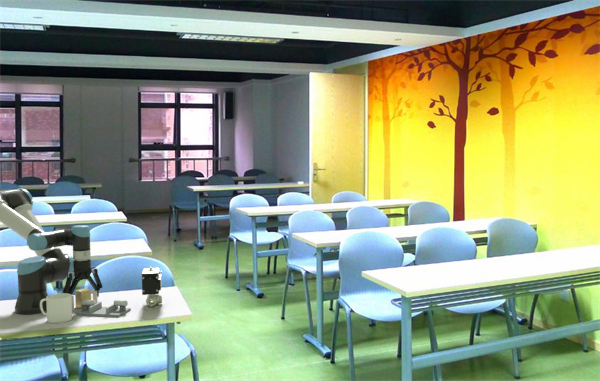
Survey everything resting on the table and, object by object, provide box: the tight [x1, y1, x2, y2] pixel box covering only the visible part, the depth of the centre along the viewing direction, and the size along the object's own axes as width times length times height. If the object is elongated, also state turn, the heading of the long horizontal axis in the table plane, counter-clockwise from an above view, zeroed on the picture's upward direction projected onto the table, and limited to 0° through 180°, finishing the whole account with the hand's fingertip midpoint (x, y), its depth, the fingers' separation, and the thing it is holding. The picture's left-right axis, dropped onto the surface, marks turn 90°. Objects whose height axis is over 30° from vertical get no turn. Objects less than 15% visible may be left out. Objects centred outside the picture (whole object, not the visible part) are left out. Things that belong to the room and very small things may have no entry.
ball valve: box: [141, 266, 163, 307], centre depth 273 cm, size 18×8×18 cm, turn 11°
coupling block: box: [74, 287, 92, 310], centre depth 270 cm, size 5×5×8 cm
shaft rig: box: [75, 299, 131, 318], centre depth 261 cm, size 20×11×5 cm, turn 79°
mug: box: [40, 292, 73, 324], centre depth 250 cm, size 13×10×10 cm
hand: (83, 306), depth 271 cm, fingers open, 11 cm apart
